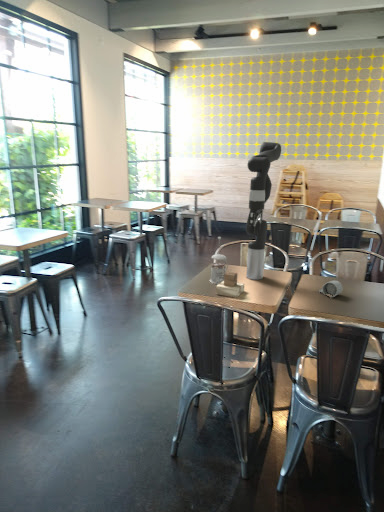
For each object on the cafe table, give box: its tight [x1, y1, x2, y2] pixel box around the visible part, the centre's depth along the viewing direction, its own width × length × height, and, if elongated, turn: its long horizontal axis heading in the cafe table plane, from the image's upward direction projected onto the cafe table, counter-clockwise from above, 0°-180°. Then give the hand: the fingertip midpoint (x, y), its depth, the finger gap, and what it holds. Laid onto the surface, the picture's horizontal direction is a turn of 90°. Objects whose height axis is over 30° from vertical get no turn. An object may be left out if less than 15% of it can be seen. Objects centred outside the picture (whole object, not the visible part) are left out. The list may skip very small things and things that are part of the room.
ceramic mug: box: [318, 279, 344, 298], centre depth 191 cm, size 11×8×8 cm
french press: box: [208, 236, 229, 285], centre depth 206 cm, size 10×12×25 cm
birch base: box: [215, 281, 245, 298], centre depth 192 cm, size 11×11×4 cm
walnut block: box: [224, 270, 238, 287], centre depth 190 cm, size 5×5×6 cm
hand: (255, 232), depth 190 cm, fingers open, 8 cm apart
